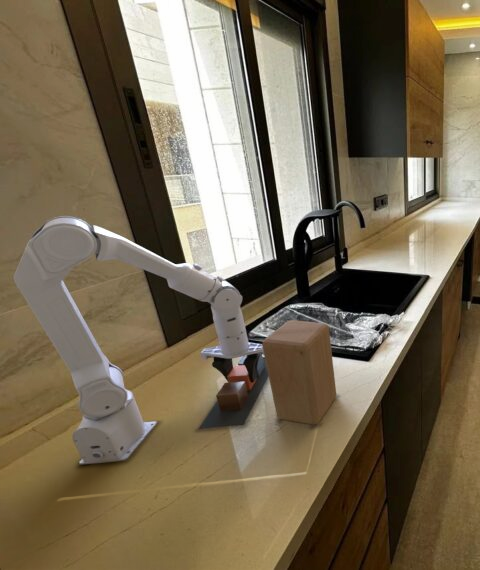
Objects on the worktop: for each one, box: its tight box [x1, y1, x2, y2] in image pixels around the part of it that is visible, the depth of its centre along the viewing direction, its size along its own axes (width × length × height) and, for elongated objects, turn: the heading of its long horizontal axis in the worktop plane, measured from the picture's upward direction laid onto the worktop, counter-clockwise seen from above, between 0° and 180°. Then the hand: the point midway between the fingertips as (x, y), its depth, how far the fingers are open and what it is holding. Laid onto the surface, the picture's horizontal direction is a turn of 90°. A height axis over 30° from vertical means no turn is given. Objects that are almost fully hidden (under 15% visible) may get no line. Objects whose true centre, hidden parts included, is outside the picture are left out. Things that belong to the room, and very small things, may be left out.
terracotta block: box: [227, 365, 257, 391], centre depth 80 cm, size 4×4×4 cm
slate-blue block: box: [237, 354, 265, 377], centre depth 85 cm, size 4×4×4 cm
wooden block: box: [261, 319, 337, 426], centre depth 71 cm, size 10×10×20 cm
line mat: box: [198, 356, 269, 430], centre depth 81 cm, size 26×9×1 cm, turn 7°
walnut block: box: [215, 381, 248, 411], centre depth 74 cm, size 4×4×4 cm
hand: (243, 380), depth 80 cm, fingers closed on terracotta block, 4 cm apart
